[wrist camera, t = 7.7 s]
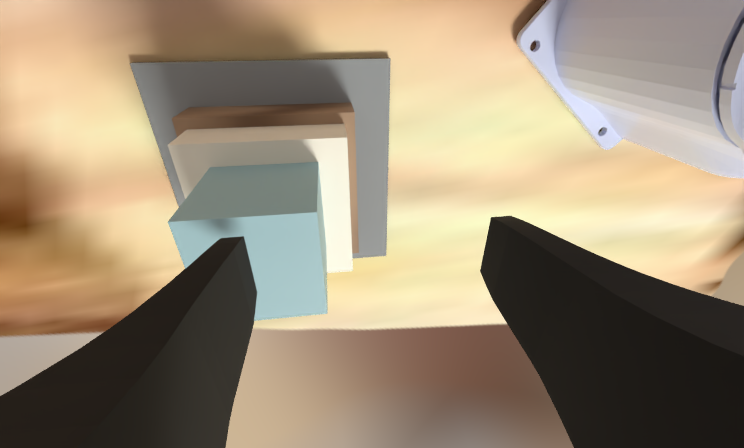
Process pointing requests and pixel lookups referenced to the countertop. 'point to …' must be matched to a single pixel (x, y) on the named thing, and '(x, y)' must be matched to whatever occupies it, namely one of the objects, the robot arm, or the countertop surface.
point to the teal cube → (263, 231)
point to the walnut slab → (281, 117)
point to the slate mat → (277, 87)
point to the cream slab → (278, 147)
